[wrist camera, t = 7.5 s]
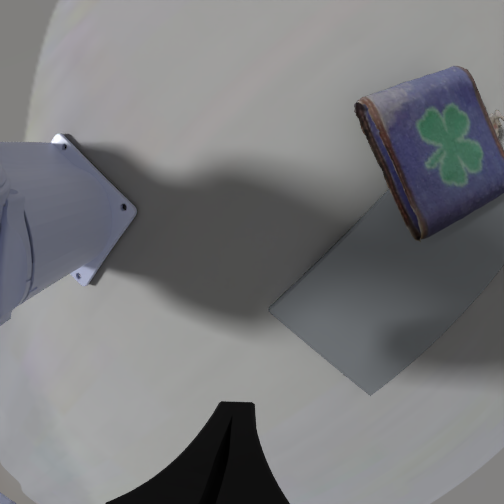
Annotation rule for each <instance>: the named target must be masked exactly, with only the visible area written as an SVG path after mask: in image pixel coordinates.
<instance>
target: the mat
mask: <svg viewBox="0 0 504 504" xmlns="http://www.w3.org/2000/svg"><path fill="white" fill-rule="evenodd" d="M393 198H394V197H392V194H391V193H390V190H388V191H387V192H386V193H385V194H384V195H383V196H382V197H381V198H380V199H379V200H378V201H377V202H376V203H375V204H374V205H373V206H372V207H371V208H370V209H369V211H368V212H367V213H366V214H365V215H364V216H363V217H362V218H361V219H360V220H359V221H358V222H357V223H356V224H355V225H354V226H353V227H352V228H351V229H350V230H349V231H348V232H347V233H346V234H345V235H344V236H343V237H342V238H341V239H340V240H339V241H338V242H337V243H336V244H335V245H334V246H333V247H332V248H331V249H330V250H329V251H328V252H327V253H326V254H325V255H324V256H323V257H322V258H321V259H320V260H319V261H318V262H317V263H316V264H315V265H314V266H312V267H311V268H310V269H309V270H308V271H307V272H306V273H305V274H304V275H303V276H302V277H301V278H300V279H299V280H298V281H297V282H296V283H295V284H294V285H293V286H292V287H290V288H289V289H288V290H287V291H286V292H285V293H284V294H283V295H282V296H281V297H280V298H279V299H278V300H277V301H276V302H274V303H273V304H272V305H271V306H270V307H269V312H270V313H271V314H272V315H274V316H275V317H276V318H277V319H278V320H279V321H281V322H282V323H283V324H284V325H285V326H286V327H288V328H289V329H290V330H291V331H292V332H293V333H295V334H296V335H297V336H298V337H299V338H301V339H302V340H303V341H304V342H305V343H306V344H308V345H309V346H310V347H311V348H312V349H314V350H315V351H316V352H317V353H318V354H320V355H321V356H322V357H323V358H324V359H326V360H327V361H328V362H329V363H330V364H332V365H333V366H334V367H335V368H336V369H338V370H339V371H340V372H341V373H343V374H344V375H345V376H346V377H347V378H349V379H350V380H351V381H352V382H354V383H355V384H356V385H357V386H359V387H360V388H361V389H362V390H364V391H365V392H366V393H367V394H369V395H370V396H371V395H372V394H374V393H375V392H376V391H377V390H379V389H380V388H381V387H383V386H384V385H385V384H386V383H388V382H389V381H390V380H391V379H393V378H394V377H395V376H396V375H398V374H399V373H400V372H401V371H402V370H404V369H405V368H406V367H407V366H408V365H409V364H411V363H412V362H413V361H414V360H415V359H416V358H417V357H419V356H420V355H421V354H422V353H423V352H424V351H425V350H426V349H427V348H428V347H430V346H431V345H432V344H433V343H434V342H435V341H436V340H437V339H438V338H439V337H440V336H441V335H442V334H443V333H444V332H445V331H446V330H447V329H448V328H449V327H450V326H451V325H452V324H453V323H454V322H455V321H456V320H457V319H458V318H459V317H460V316H461V315H462V314H463V313H464V311H465V310H466V309H467V308H468V307H469V306H470V305H471V304H472V303H473V302H474V300H475V299H476V298H477V297H478V296H479V295H480V294H481V292H482V291H483V290H484V289H485V288H486V287H487V285H488V284H489V283H490V282H491V280H492V279H493V278H494V277H495V276H496V274H497V273H498V272H499V270H500V269H501V268H502V267H503V265H504V193H503V194H502V195H500V196H499V197H498V198H496V199H494V200H493V201H490V202H489V203H487V204H486V205H484V206H483V207H481V208H479V209H477V210H475V211H473V212H472V213H470V214H469V215H467V216H465V217H464V218H463V219H461V220H458V221H456V222H454V223H453V224H451V225H450V226H448V227H446V228H444V229H443V230H441V231H439V232H437V233H436V234H434V235H432V236H430V237H428V238H425V239H421V242H420V241H417V240H415V239H414V238H413V237H412V236H411V234H410V231H409V230H408V229H407V228H406V225H405V223H404V221H403V219H402V217H401V214H400V212H399V210H398V207H397V205H396V203H395V201H394V199H393Z"/></svg>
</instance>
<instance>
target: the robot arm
mask: <svg viewBox="0 0 504 504" xmlns="http://www.w3.org/2000/svg"><path fill="white" fill-rule="evenodd" d="M65 145H67V148H66V150H65ZM123 204H126V206H127V209H126V210H124V209H123ZM136 214H137V210H136V207H135V206H134V205H133V204H132V203H131V202H130V201H129V200H128V199H127V198H126V197H125V196H124V195H123V194H122V193H121V192H120V191H119V190H118V189H117V188H116V187H115V186H114V185H113V184H111V183H110V182H109V181H108V180H107V179H106V178H105V177H104V176H103V175H102V174H101V173H100V172H99V171H98V170H97V169H96V168H95V167H94V166H93V165H92V164H91V162H90V161H89V160H88V159H87V158H86V157H85V156H84V155H83V154H82V153H81V152H80V151H79V150H78V149H77V148H76V147H75V146H74V145H73V144H72V143H71V142H70V141H69V140H68V139H67V138H66V137H65V136H64V135H63V134H60V133H58V134H56V135H55V136H54V138H53V140H52V142H51V143H42V142H0V326H1V325H2V324H4V323H5V322H6V321H8V320H9V319H10V318H11V312H12V310H13V309H14V308H15V307H17V306H18V305H20V304H22V303H23V302H25V301H26V300H28V299H30V298H31V297H33V296H34V295H36V294H37V293H39V292H41V291H42V290H44V289H45V288H47V287H49V286H50V285H52V284H53V283H55V282H57V281H58V280H60V279H62V278H63V277H65V276H67V275H68V274H71V275H72V276H73V277H74V278H75V279H76V280H77V281H78V282H79V283H80V284H81V285H82V286H87V285H88V284H89V283H90V281H91V280H92V278H93V277H94V275H95V274H96V272H97V271H98V269H99V268H100V266H101V264H102V263H103V261H104V260H105V259H106V257H107V256H108V254H109V253H110V251H111V250H112V248H113V247H114V245H115V244H116V243H117V241H118V240H119V238H120V237H121V235H122V234H123V233H124V231H125V230H126V228H127V227H128V226H129V224H130V223H131V222H132V220H133V219H134V218H135V216H136ZM78 273H79V274H80V275H81V277H80V276H79V274H78ZM0 504H16V503H15V502H13V501H12V500H10V499H9V498H7V497H6V496H5V495H3V494H2V493H0ZM106 504H290V503H289V502H288V500H287V499H286V497H285V495H284V494H283V492H282V491H281V489H280V487H279V486H278V484H277V482H276V480H275V478H274V476H273V474H272V472H271V470H270V468H269V466H268V463H267V461H266V458H265V456H264V453H263V450H262V447H261V444H260V441H259V437H258V434H257V430H256V417H255V404H253V403H252V402H224V401H221V402H220V403H219V404H218V406H217V408H216V409H215V411H214V413H213V414H212V416H211V417H210V419H209V420H208V422H207V423H206V424H205V426H204V427H203V428H202V430H201V431H200V432H199V434H198V435H197V436H196V438H195V439H194V440H193V441H192V442H191V443H190V444H189V446H188V447H187V448H186V449H185V450H184V451H183V452H182V453H181V454H180V455H179V456H178V457H177V458H176V459H175V460H174V461H173V462H172V463H171V464H169V465H168V466H167V467H166V468H165V469H163V470H162V471H161V472H160V473H158V474H157V475H156V476H154V477H153V478H152V479H150V480H149V481H147V482H145V483H144V484H142V485H141V486H139V487H137V488H136V489H134V490H132V491H130V492H128V493H126V494H124V495H122V496H120V497H118V498H116V499H113V500H111V501H109V502H106Z"/></svg>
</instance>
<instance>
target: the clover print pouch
mask: <svg viewBox="0 0 504 504" xmlns="http://www.w3.org/2000/svg"><path fill="white" fill-rule="evenodd" d="M358 101H359V102H358V103H357V102H356V104H354V107H355V110H354V112H355V113H356V116H357V118H359V121H360V125H361V129H362V131H363V133H364V134H365V135H366V137H367V140H368V143H369V145H370V147H371V149H372V151H373V153H374V155H375V157H376V160H377V162H378V164H379V166H380V167H381V168H382V171H383V175H384V178H385V179H386V182H387V186H388V188H389V190H390V193H391V194H392V197H394V198H393V199H394V201H395V203H396V205H397V207H398V210H399V212H400V214H401V217H402V219H403V221H404V223H405V225H406V228H407V229H408V230H409V231H410V234H411V236H412V237H413V238H414V239H415V240H417V241H420V242H421V239H425V238H428V237H430V236H432V235H434V234H436V233H437V232H439V231H441V230H443V229H444V228H446V227H448V226H450V225H451V224H453V223H454V222H456V221H458V220H461V219H463V218H464V217H465V216H467V215H469V214H470V213H472V212H473V211H475V210H477V209H479V208H481V207H483V206H484V205H486V204H487V203H489V202H490V201H493V200H494V199H496V198H498V197H499V196H500V195H502V194H503V193H504V150H503V148H502V145H501V142H500V140H499V139H498V138H499V132H498V129H499V128H500V129H501V127H500V126H501V123H500V121H499V118H501V119H502V120H503V121H504V116H502V115H501V113H500V111H499V110H495V114H493V113H492V114H490V115H489V116H488V113H487V111H486V108H485V106H484V103H483V101H482V99H481V96H480V93H479V91H478V89H477V87H476V84H475V81H474V79H473V77H472V75H471V74H470V73H469V71H468V70H467V69H464V68H462V67H459V66H453V67H450V68H448V69H446V70H442V71H439V72H437V73H433V74H429V75H426V76H424V77H421V78H418V79H414V80H411V81H407V82H403V83H401V84H399V85H397V86H394V87H391V88H388V89H386V90H383V91H379V92H377V93H374V94H371V95H368V96H365V97H362V98H361V99H360V100H358Z"/></svg>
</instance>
